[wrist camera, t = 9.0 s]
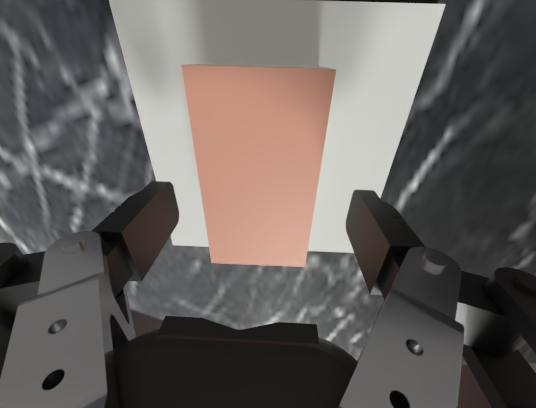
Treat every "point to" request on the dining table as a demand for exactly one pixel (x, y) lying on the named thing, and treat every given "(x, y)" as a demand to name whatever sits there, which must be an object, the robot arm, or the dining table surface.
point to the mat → (280, 53)
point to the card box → (258, 156)
